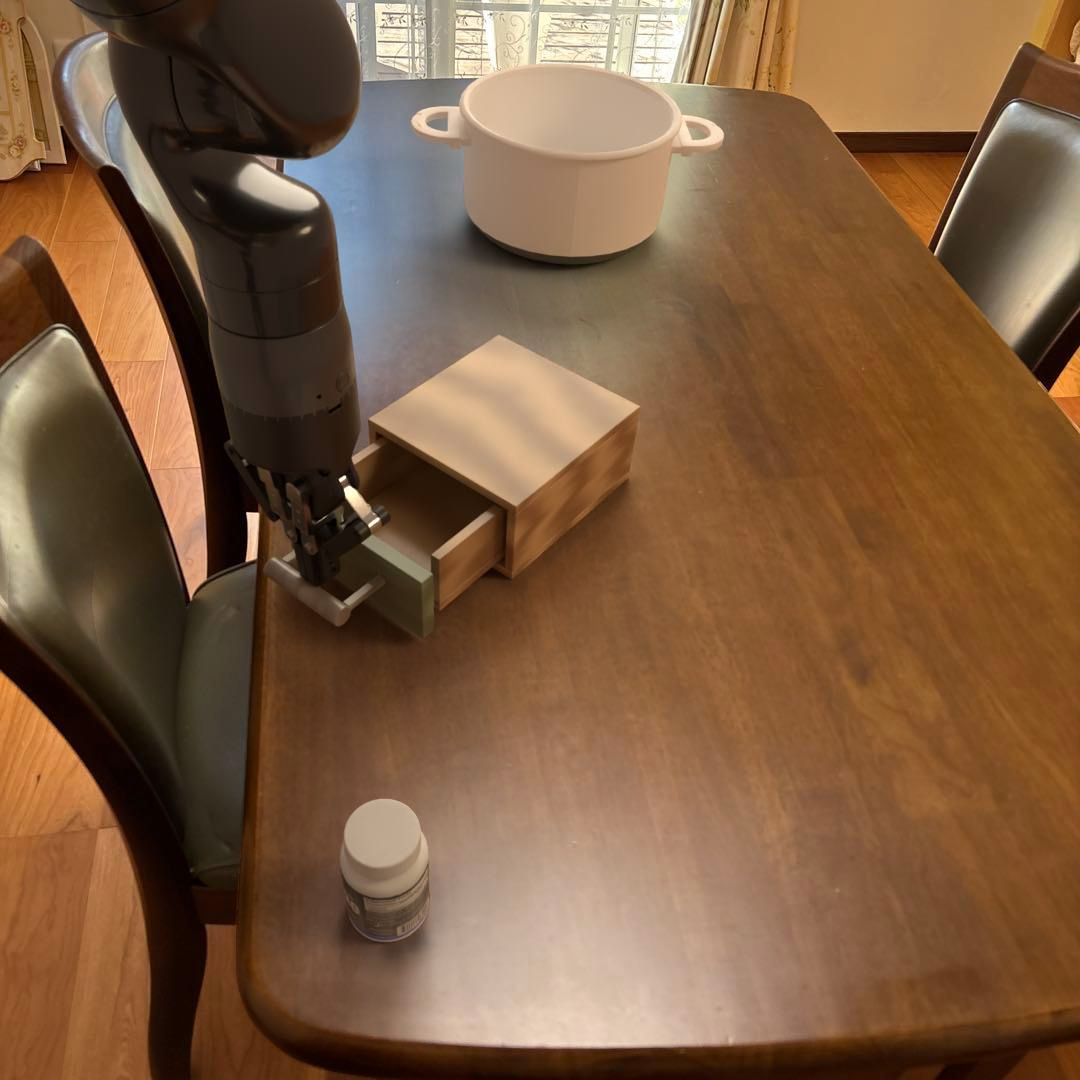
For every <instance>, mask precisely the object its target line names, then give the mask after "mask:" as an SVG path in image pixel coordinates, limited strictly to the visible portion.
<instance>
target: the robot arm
mask: <svg viewBox="0 0 1080 1080" xmlns="http://www.w3.org/2000/svg"><path fill="white" fill-rule="evenodd" d="M68 1H69V2H70V3H71V4H72V5H73V6H74V7H75V8H76V9H77V10H78V11H79V13H81V14H82V15H83V16H84V17H85V18H87V19H88V20H89V21H90V22H91V23H93V24H94V25H95V26H96V27H97V28H98V29H100V30H101V31H103V32H105V33H106V34H107V59H108V68H109V73H110V74H109V75H110V79H111V83H112V86H113V89H114V93H115V97H116V99H117V103H118V105H119V107H120V111H121V112H122V115H123V117H124V120H125V121H126V124H127V125H128V127H129V130H130V132H131V134H132V136H133V138H134V140H135V142H136V144H137V146H138V148H139V149H140V151H141V153H142V154H143V156H144V158H145V160H146V162H147V164H148V166H149V168H150V169H151V171H152V172H153V174H154V176H155V178H156V180H157V182H158V183H159V186H160V188H161V189H162V191H163V193H164V195H165V197H166V198H167V200H168V203H169V204H170V206H171V209H172V210H173V212H174V214H175V215H176V217H177V219H178V220H179V222H180V224H181V226H182V227H183V229H184V231H185V233H186V234H187V236H188V238H189V240H190V243H191V245H192V249H193V254H194V258H195V264H196V266H197V267H196V268H197V270H198V276H199V280H200V285H201V290H202V293H203V297H204V302H205V303H204V304H205V307H206V313H207V322H208V339H209V347H210V348H209V349H210V353H211V358H212V361H213V366H214V370H215V376H216V380H217V384H218V388H219V393H220V397H221V401H222V406H223V411H224V415H225V419H226V423H227V429H228V433H229V438H230V439H229V440H227V441H226V442H224V443H223V448H224V451H225V453H226V454H227V455H228V457H229V459H230V460H231V462H232V463H233V465H234V467H235V469H236V470H237V471H238V474H240V476H241V478H242V479H243V481H244V482H245V484H246V486H247V487H248V489H249V490H250V492H251V493H252V496H253V497H254V498H255V500H256V501H257V503H258V505H259V507H260V508H261V509H262V511H263V513H264V514H265V516H266V517H267V518H268V519H269V520H270V521H271V522H273V523H276V522H278V521H280V522H281V523H282V529H283V533H284V534H285V536H286V538H287V539H288V540H290V542H291V541H292V542H293V546H294V549H293V550H295V556H296V561H297V562H296V563H297V566H298V572H300V576H301V577H303V578H304V579H306V580H307V581H309V582H310V583H311V584H313V585H314V586H315V587H321V586H322V585H325V584H326V583H328V582H329V581H330V580H332V579H333V578H334V576H335V575H337V574H338V573H339V572H340V570H341V566H340V559H339V557H340V556H342V555H344V554H345V553H347V552H348V551H350V550H351V549H353V548H354V547H356V546H357V545H359V544H361V543H362V542H363V541H365V540H366V539H367V538H368V537H370V536H371V535H372V534H374V533H375V532H376V531H378V530H379V529H380V528H382V527H383V526H384V525H386V524H387V523H388V522H389V521H390V520H391V517H390V514H389V512H388V511H387V509H386V508H385V507H383V506H381V505H377V506H376V507H374V508H373V509H372V508H371V506H370V505H369V504H367V503H366V502H365V500H364V499H363V498H362V496H361V495H360V494H359V492H358V489H359V486H360V478H359V475H358V472H357V470H356V468H355V466H354V464H353V461H352V457H353V454H354V451H355V448H356V445H357V442H358V440H359V437H360V433H361V430H362V429H361V428H362V421H361V411H360V399H359V390H358V381H357V371H356V361H355V352H354V351H355V350H354V343H353V342H354V341H353V333H352V328H351V323H350V319H349V316H348V312H347V308H346V306H345V298H344V295H343V294H344V293H343V284H342V283H343V282H342V273H341V265H340V257H339V256H340V255H339V245H338V236H337V230H336V229H337V228H336V224H335V219H334V215H333V211H332V209H331V206H330V205H329V202H328V200H326V198H325V197H324V196H323V195H322V194H321V193H320V192H319V191H318V190H317V189H315V188H314V187H313V186H310V185H309V184H307V183H305V182H303V181H302V180H299V179H298V178H295V177H293V176H291V175H288V174H286V173H284V172H281V171H280V170H277V169H275V168H273V167H272V166H269V165H268V164H266V163H265V162H263V160H260V159H259V158H258V157H262V158H269V159H276V160H281V161H282V160H283V161H291V162H293V161H295V162H296V161H300V162H301V161H308V160H314V159H317V158H319V157H323V156H324V155H326V154H328V153H329V152H331V151H332V150H334V149H335V148H336V147H337V146H339V144H341V142H343V140H344V139H345V138H346V137H347V135H348V134H349V133H350V131H351V129H352V127H353V125H354V123H355V121H356V119H357V117H358V114H359V113H358V112H359V109H360V105H361V99H362V93H363V71H362V63H361V59H360V54H359V53H360V52H359V48H358V45H357V42H356V39H355V35H354V33H353V30H352V28H351V26H350V23H349V21H348V19H347V17H346V15H345V13H344V11H343V9H342V8H341V6H340V4H339V2H338V1H337V0H68ZM256 156H258V157H256ZM343 512H344V514H343V520H344V521H343V522H342V513H343Z"/></svg>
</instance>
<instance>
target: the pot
mask: <svg viewBox="0 0 1080 1080" xmlns="http://www.w3.org/2000/svg"><path fill="white" fill-rule="evenodd" d="M440 119H447V130H446V131H445V130H438V129H435V128H432V127H431V126H429V125H427V124H428V123H429V122H431V121H435V120H440ZM410 125H411V130H412V131H413V132H414V135H415V136H416V137H418V138H420V139H422V140H424V141H427V142H430V143H435V144H442V145H448V147H449V148H450V149H452V150H461V147H463V188H462V189H463V200H464V205H465V209H466V213H467V215H468V217H469V218H470V220H471V221H472V223H473V224H474V226H475V227H476V229H477V230H478V231H479V232H480V233H481V234H482V235H483V236H484V237H485V238H486V239H488V240H489V241H491V242H492V243H494V244H495V245H496V246H498V247H500V248H501V249H503V250H505V251H507V252H509V253H512V254H514V255H515V256H519V257H521V258H525V259H529V260H533V261H537V262H543V263H549V264H558V265H589V264H594V263H595V264H596V263H602V262H606V261H609V260H613V259H617V258H618V257H621V256H624V255H625V254H627V253H630V252H631V251H634V250H636V249H637V248H638V247H639V246H641V245H642V244H644V243H645V242H646V241H647V240H648V238H649V237H651V236H652V234H653V233H654V232H655V231H656V230H657V227H658V226H659V223H660V220H661V217H662V214H663V210H664V206H665V199H666V193H667V187H668V180H669V174H670V167H671V160H672V155H673V154H680V155H679V156H680V157H683V158H684V157H686V158H687V157H688V158H690V157H692V155H693V154H695V153H697V154H698V153H709V152H712V151H714V150H717V149H719V148H720V147H721V146H722V145H723V142H724V139H725V133H724V131H723V129H722V128H721V127H720V126H718V125H717V123H716V122H713V121H711V120H709V119H706V118H703V117H699V116H694V115H688V114H687V115H686V114H682V111H681V110H680V108H679V106H678V104H677V102H676V101H675V100H673V99H672V98H671V97H670V96H669V95H668V94H667V93H666V92H664V91H663V90H661V89H660V88H658V87H656V86H655V85H654V84H653V85H652V84H651V83H648V82H646V81H645V80H642V79H639V78H637V77H634V76H632V75H628V74H626V73H623V72H620V71H615V70H612V69H607V68H602V67H596V66H592V65H591V66H590V65H583V64H571V63H534V64H524V65H523V64H522V65H517V66H512V67H507V68H503V69H499V70H496V71H493V72H490V73H487V74H485V75H482V76H481V77H478V78H477V79H475V80H474V81H473V82H471V83H470V84H469V85H467V86H466V88H465V89H464V90H463V92H462V93H461V95H460V98H459V102H458V106H454V105H453V106H452V105H449V106H448V105H446V106H444V105H443V106H440V105H439V106H433V107H427V108H424V109H421V110H419V111H416V113H415V114H414V115H413V116H412V117H411V120H410ZM689 128H691V129H695V130H698V131H701V132H703V133H705V134H706V135H707V137H705V138H703V139H692V136H691V133H690V131H689Z"/></svg>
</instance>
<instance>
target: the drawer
mask: <svg viewBox="0 0 1080 1080" xmlns="http://www.w3.org/2000/svg"><path fill="white" fill-rule="evenodd" d="M352 461H353V464H354V466H355V468H356V470H357V472H358V475H359V478H360V486H359V489H358V492H359V494H360V495H361V496H362V498H363V499H364V500H365V502H366V503H367V504H369V505H370V506H371V508H372V509H373V508H374V507H376V506H377V505H381V506H383V507H385V508H386V509H387V511H388V512H389V514H390V517H391V520H390V521H389V522H388V523H387V524H386V525H384V526H383V527H382V528H380V529H379V530H378V531H376V532H375V533H374V534H372V535H371V536H370V537H368V538H367V539H366V540H365V541H363V542H362V543H361V544H359V545H357V546H356V547H354V548H353V549H351V550H350V551H348V552H347V553H345V554H344V555H342V556H340V557H339V559H340V566H341V570H340V572H339V573H338V574H337V575H335V576H334V577H333V578H334V579H335V580H337V581H338V582H340V583H341V584H343V585H345V586H346V587H347V588H349V589H350V590H352V591H353V594H351V595H350V596H349V597H347V598H346V599H344V600H343V601H341V600H339V599H338V598H336V597H335V596H334V595H332V594H331V593H330V592H328V591H326V590H325V589H324V588H322V587H321V586H319V587H315V586H314V585H313V584H311V583H310V582H309V581H307V580H306V579H304V578H303V577H301V576H300V572H299V570H297V569H296V568H295V567H293V565H294V564H296V563H297V561H296V556H295V550H294V546H293V542H292V541H291V540H290V546H291V549H292V550H291V551H290V552H289V553H288V554H286V555H285V556H283V557H282V558H280V557H278V556H273V557H271V558H269V559H268V560H267V561H266V562H265V564H264V566H263V568H262V569H263V570H262V571H263V575H264V576H266V578H268V579H270V580H271V581H273V582H274V583H275V584H276V585H278V586H279V587H281V588H282V589H284V590H285V591H286V592H288V593H289V594H290V595H292V596H293V597H294V598H296V599H298V600H299V601H300V602H302V603H303V604H304V605H306V606H307V607H308V608H310V609H311V610H312V611H314V612H316V613H317V614H318V615H320V616H321V617H322V618H324V619H325V620H326V621H328V622H329V623H331V624H332V625H333V626H335V627H341V626H343V625H345V624H346V622H348V620H349V618H350V617H351V612H352V610H353V609H355V608H356V607H357V606H359V605H360V604H361V603H362V602H363V601H365V600H366V601H367V602H369V603H370V604H371V605H373V606H375V607H376V608H378V609H379V610H381V611H382V612H383V613H384V614H386V615H388V616H389V617H391V618H392V619H393V620H395V621H396V622H398V623H399V624H401V625H402V626H404V628H406V629H408V630H409V631H411V632H412V633H413V634H415V635H416V636H418V637H419V638H420V639H422V640H424V639H425V638H426V637H427V636H429V635H430V634H431V633H432V632H433V631H434V630H435V609H436V610H437V611H439V612H440V611H442V610H443V609H445V607H447V606H448V605H449V604H450V603H451V602H452V601H453V600H455V599H456V598H457V597H458V596H460V595H461V594H462V593H463V592H465V590H466V589H468V588H469V587H470V586H472V584H473V583H475V582H476V581H477V580H479V579H480V578H481V577H482V576H483V575H485V574H486V573H487V572H488V571H489V570H491V569H492V566H494V565H495V564H496V563H497V562H498V561H500V560H501V559H502V558H503V557H504V556H505V551H506V532H507V513H508V510H507V509H505V508H503V507H502V506H500V505H498V504H497V503H495V502H493V501H492V500H490V499H488V498H487V497H485V496H483V495H482V494H480V493H478V492H477V491H475V490H473V489H472V488H470V487H468V486H467V485H465V484H463V483H462V482H460V481H458V480H456V479H455V478H453V477H451V476H450V475H448V474H446V473H445V472H443V471H441V470H440V469H438V468H436V467H435V466H433V465H431V464H430V463H428V462H426V461H425V460H423V459H421V458H420V457H418V456H416V455H415V454H413V453H411V452H410V451H408V450H406V449H405V448H403V447H401V446H400V445H398V444H396V443H395V442H393V441H391V440H390V439H388V438H386V437H385V436H383V437H381V438H380V439H378V440H377V441H375V442H374V443H372V444H371V445H370V444H369V445H367V446H366V447H365V448H363V449H362V450H360V451H358V452H356V454H354V455H352ZM343 514H344V512H343V513H342V522H343V521H344V520H343Z"/></svg>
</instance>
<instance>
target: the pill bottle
mask: <svg viewBox="0 0 1080 1080" xmlns="http://www.w3.org/2000/svg"><path fill="white" fill-rule="evenodd" d="M421 829H422V828H421V823H420V821H419V818H418V816H417V815H416V813H415V812H414V811H413V810H412V808H410V807H409V806H408V805H407V804H405V803H403V802H401V801H399V800H396V799H391V798H377V799H372V800H369V801H367V802H365V803H362V805H360V806H359V807H357V808H356V809H355V810H354V811H353V812H352V813H351V814H350V815H349V817H348V819H347V821H346V822H345V825H344V829H343V842H342V844H341V848H340V852H339V869H340V874H341V879H342V886H343V892H344V899H345V903H346V909H347V914H348V918H349V920H350V922H351V924H352V926H353V928H354V929H355V930H356V931H357V932H358V933H359V934H361V935H362V936H363V937H365V938H366V939H368V940H370V941H375V942H379V943H393V942H397V941H400V940H401V941H402V940H403V939H405V938H407V937H410V936H411V935H412V934H413V933H415V932H416V931H417V930H418V929H419V928H420V927H421V926H422V924H423V922H424V921H425V919H426V917H427V916H428V912H429V908H430V901H431V900H430V899H431V892H430V857H429V856H430V855H429V847H428V841H427V839H426V836H425V834H424V832H423V831H422V830H421Z"/></svg>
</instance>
